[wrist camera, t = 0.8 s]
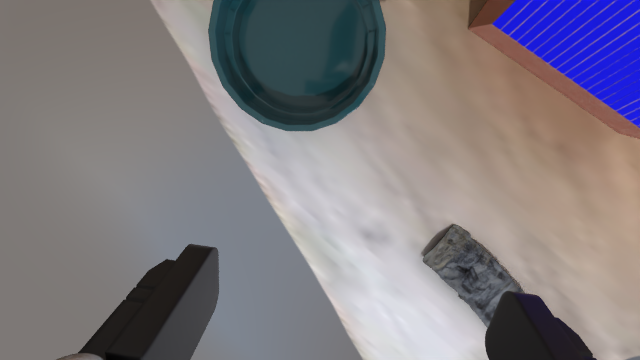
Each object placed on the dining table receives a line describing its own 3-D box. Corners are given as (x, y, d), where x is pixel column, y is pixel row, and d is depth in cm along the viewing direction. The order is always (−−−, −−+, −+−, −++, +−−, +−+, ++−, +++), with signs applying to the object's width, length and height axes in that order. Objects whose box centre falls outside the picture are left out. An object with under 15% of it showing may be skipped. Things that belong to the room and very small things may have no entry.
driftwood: (414, 250, 41) (418, 260, 39) (462, 217, 39) (469, 226, 37) (508, 351, 46) (516, 364, 44) (555, 325, 44) (565, 338, 42)
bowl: (220, -39, 32) (197, -57, 26) (381, -45, 31) (390, -64, 26) (236, 120, 37) (219, 131, 31) (375, 119, 36) (381, 130, 31)
